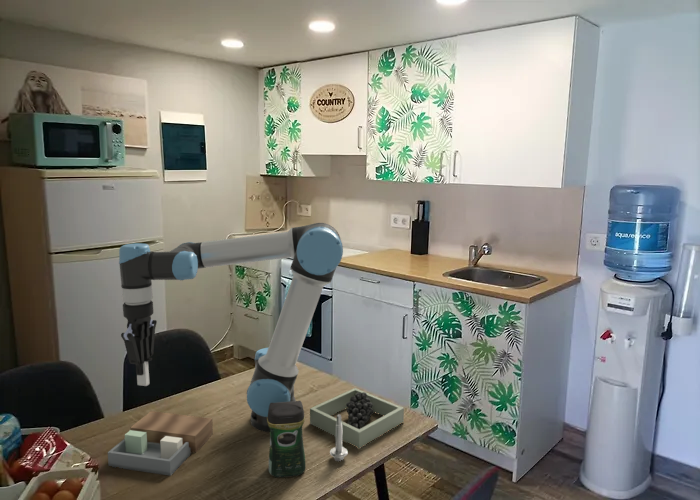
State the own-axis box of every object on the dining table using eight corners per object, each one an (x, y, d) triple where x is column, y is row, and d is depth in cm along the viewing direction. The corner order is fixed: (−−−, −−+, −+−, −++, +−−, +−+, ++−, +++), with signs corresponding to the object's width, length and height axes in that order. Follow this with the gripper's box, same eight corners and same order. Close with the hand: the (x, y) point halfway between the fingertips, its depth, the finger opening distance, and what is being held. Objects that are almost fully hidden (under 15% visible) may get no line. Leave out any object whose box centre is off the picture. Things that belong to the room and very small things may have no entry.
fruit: (361, 408, 148) (370, 386, 163) (334, 414, 150) (345, 391, 165) (370, 435, 149) (378, 410, 164) (344, 441, 151) (354, 415, 166)
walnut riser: (212, 434, 151) (212, 418, 150) (195, 452, 141) (195, 436, 140) (151, 426, 155) (150, 411, 154) (131, 443, 145) (130, 427, 145)
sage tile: (146, 432, 141) (140, 436, 138) (147, 449, 141) (142, 454, 139) (130, 430, 142) (124, 434, 139) (131, 446, 142) (125, 451, 140)
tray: (190, 454, 140) (190, 440, 140) (170, 475, 131) (170, 461, 130) (132, 446, 144) (131, 433, 144) (108, 466, 135) (107, 452, 134)
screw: (345, 453, 142) (349, 462, 137) (328, 454, 141) (331, 464, 136) (346, 409, 140) (349, 417, 135) (328, 410, 139) (331, 419, 134)
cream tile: (182, 438, 138) (177, 442, 135) (183, 455, 139) (178, 460, 136) (165, 435, 139) (160, 440, 136) (166, 452, 140) (161, 457, 137)
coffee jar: (304, 459, 138) (303, 395, 135) (306, 477, 131) (306, 409, 128) (268, 462, 137) (266, 397, 134) (268, 480, 129) (267, 412, 126)
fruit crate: (403, 422, 159) (403, 407, 158) (359, 449, 144) (359, 432, 143) (354, 401, 172) (355, 387, 171) (310, 423, 158) (309, 408, 157)
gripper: (139, 294, 144) (145, 373, 148) (109, 307, 132) (116, 393, 136) (163, 296, 143) (168, 376, 147) (135, 308, 130) (141, 396, 134)
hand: (143, 384), depth 141 cm, fingers closed
